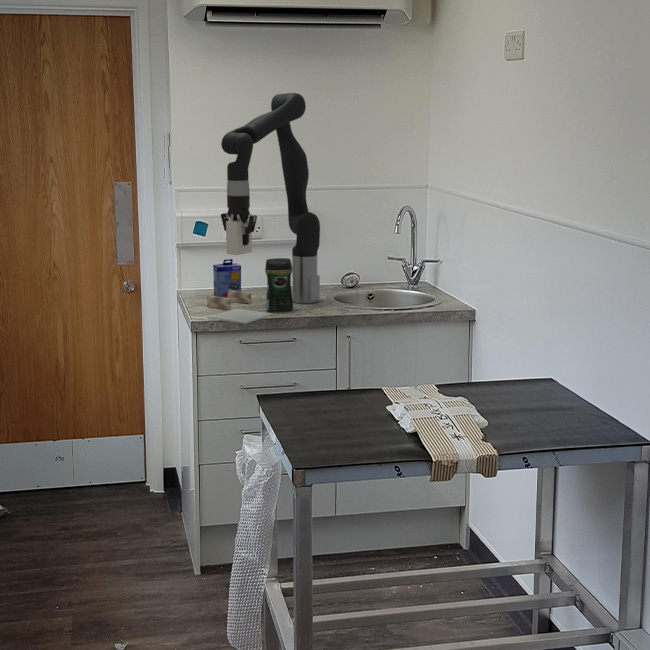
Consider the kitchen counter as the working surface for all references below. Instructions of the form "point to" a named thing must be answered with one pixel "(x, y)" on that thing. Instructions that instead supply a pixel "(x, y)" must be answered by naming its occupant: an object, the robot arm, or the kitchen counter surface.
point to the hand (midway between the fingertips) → (239, 244)
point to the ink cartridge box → (226, 278)
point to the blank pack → (236, 238)
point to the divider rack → (228, 300)
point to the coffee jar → (279, 285)
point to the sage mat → (240, 316)
